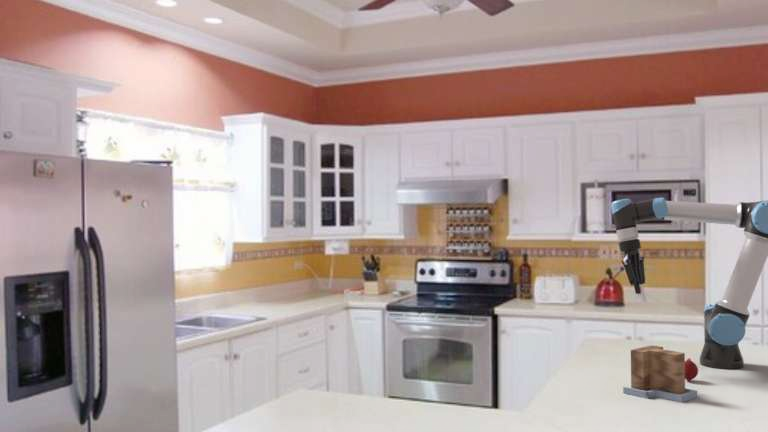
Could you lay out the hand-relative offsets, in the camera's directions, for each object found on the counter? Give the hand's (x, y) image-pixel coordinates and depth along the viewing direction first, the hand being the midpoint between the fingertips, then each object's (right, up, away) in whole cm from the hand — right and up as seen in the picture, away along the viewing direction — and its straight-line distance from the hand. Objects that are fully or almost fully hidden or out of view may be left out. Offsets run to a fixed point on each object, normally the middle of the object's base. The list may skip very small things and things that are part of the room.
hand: (641, 301), depth 264 cm
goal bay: (-6, -26, -35) cm, 44 cm away
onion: (+10, -25, -19) cm, 33 cm away
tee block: (-7, -26, -34) cm, 43 cm away
